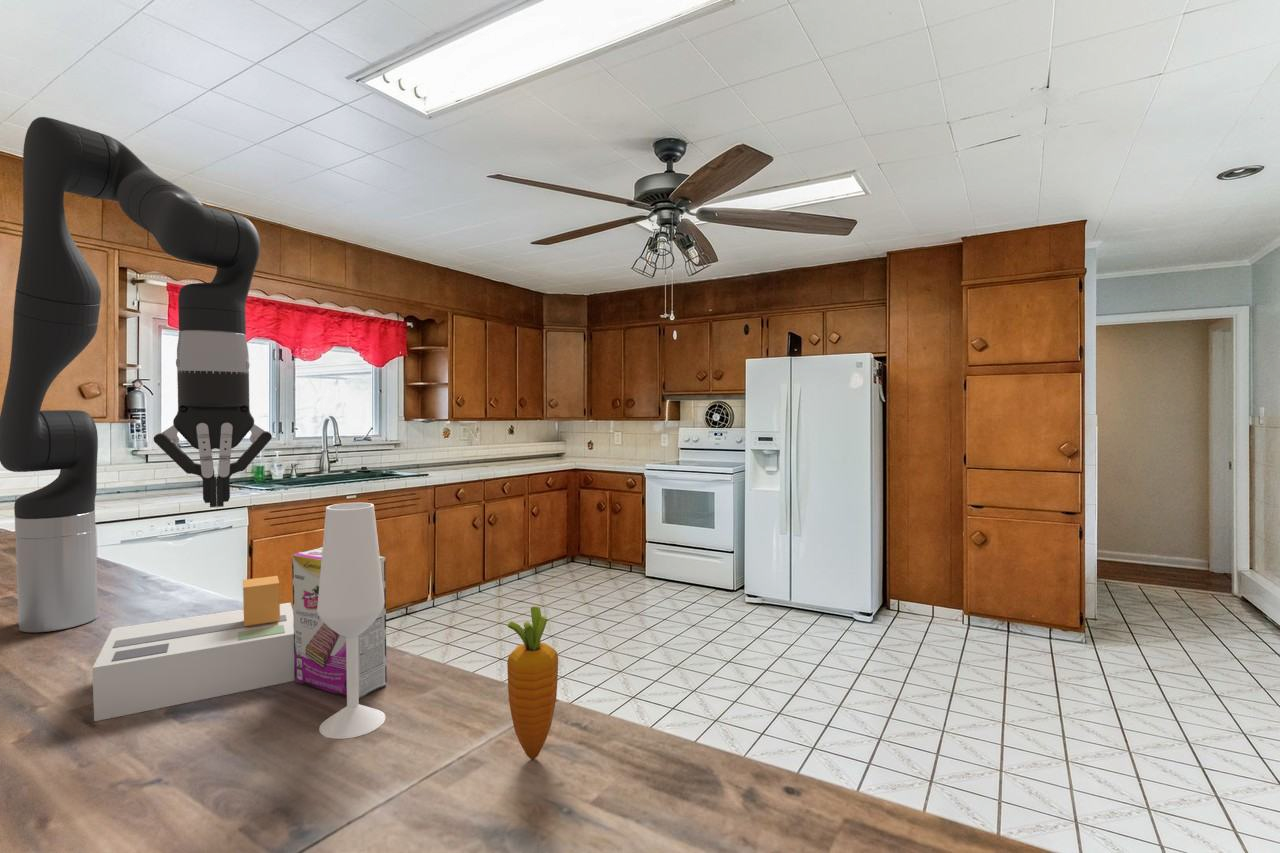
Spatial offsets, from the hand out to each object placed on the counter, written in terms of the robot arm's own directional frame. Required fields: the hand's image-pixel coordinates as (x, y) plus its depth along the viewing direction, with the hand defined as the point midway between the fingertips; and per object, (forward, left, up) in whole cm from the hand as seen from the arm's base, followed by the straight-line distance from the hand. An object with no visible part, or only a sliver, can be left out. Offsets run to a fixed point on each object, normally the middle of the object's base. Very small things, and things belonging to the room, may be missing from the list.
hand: (216, 506), depth 81 cm
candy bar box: (+11, +13, -22) cm, 28 cm away
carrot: (+39, +27, -22) cm, 52 cm away
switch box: (0, -1, -22) cm, 22 cm away
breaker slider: (0, +5, -15) cm, 16 cm away
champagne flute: (+22, +13, -22) cm, 34 cm away
